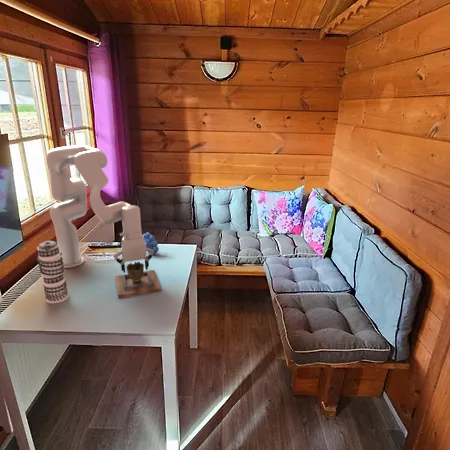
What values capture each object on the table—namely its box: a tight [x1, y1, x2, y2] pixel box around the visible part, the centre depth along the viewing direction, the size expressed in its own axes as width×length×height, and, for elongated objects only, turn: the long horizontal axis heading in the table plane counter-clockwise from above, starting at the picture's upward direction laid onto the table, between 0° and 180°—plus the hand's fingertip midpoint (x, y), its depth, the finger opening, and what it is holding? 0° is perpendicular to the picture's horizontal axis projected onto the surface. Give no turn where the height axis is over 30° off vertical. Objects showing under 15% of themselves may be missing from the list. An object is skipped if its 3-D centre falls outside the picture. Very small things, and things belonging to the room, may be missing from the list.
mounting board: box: [114, 269, 162, 299], centre depth 158 cm, size 18×18×3 cm
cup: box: [125, 261, 145, 283], centre depth 156 cm, size 8×7×8 cm
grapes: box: [142, 231, 160, 256], centre depth 187 cm, size 12×7×12 cm, turn 54°
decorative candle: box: [36, 240, 69, 305], centre depth 143 cm, size 9×9×25 cm
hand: (135, 270), depth 156 cm, fingers open, 9 cm apart
